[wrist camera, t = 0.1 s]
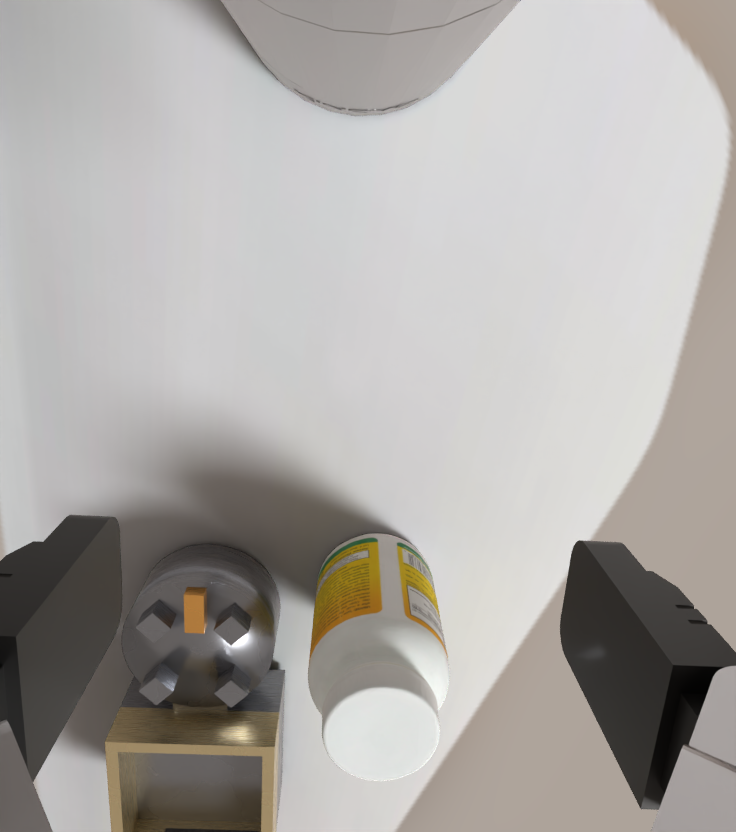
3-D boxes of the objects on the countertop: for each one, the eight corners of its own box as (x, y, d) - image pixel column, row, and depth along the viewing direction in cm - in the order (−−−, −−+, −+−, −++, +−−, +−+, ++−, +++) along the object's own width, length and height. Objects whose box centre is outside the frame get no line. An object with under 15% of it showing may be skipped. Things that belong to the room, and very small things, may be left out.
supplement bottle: (443, 540, 31) (481, 685, 22) (415, 637, 33) (440, 808, 24) (328, 519, 31) (319, 657, 22) (306, 618, 32) (289, 785, 23)
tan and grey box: (132, 540, 31) (94, 602, 26) (288, 547, 31) (278, 609, 26) (145, 778, 35) (114, 866, 30) (281, 782, 35) (271, 870, 31)
